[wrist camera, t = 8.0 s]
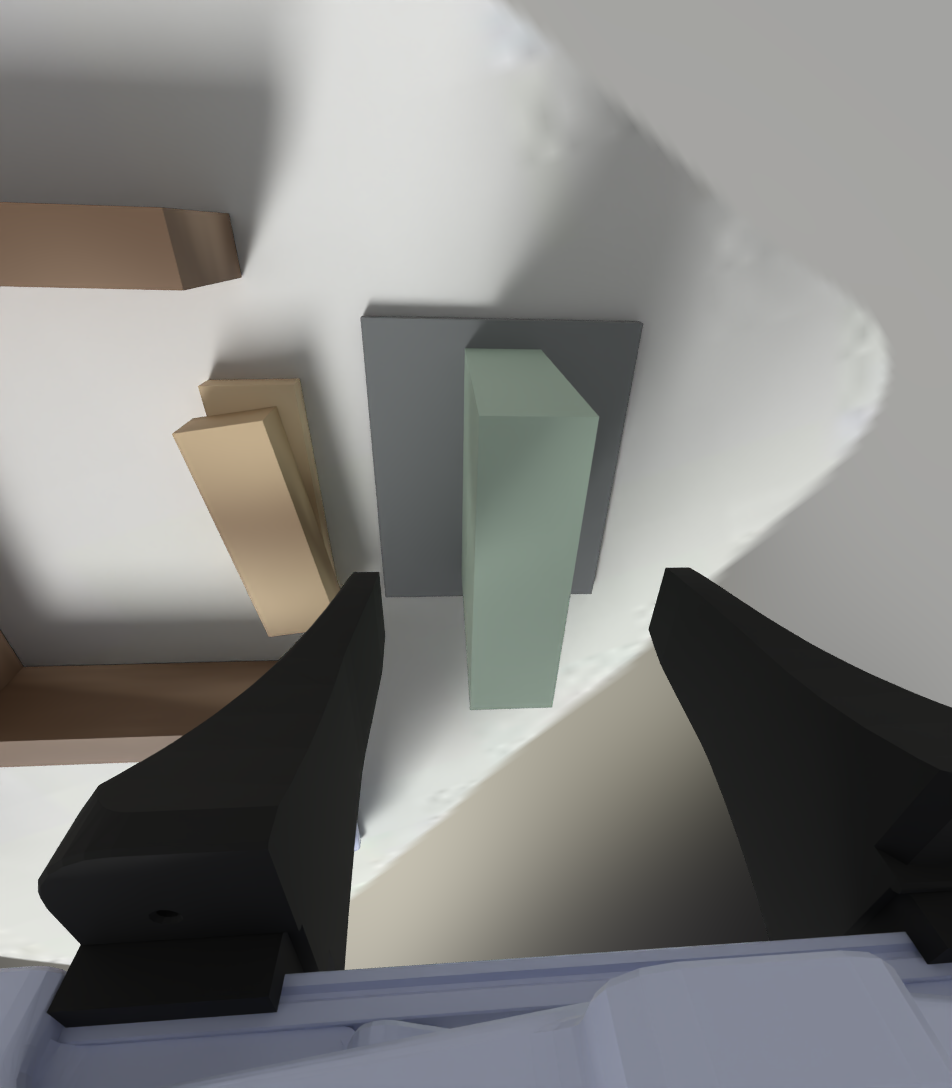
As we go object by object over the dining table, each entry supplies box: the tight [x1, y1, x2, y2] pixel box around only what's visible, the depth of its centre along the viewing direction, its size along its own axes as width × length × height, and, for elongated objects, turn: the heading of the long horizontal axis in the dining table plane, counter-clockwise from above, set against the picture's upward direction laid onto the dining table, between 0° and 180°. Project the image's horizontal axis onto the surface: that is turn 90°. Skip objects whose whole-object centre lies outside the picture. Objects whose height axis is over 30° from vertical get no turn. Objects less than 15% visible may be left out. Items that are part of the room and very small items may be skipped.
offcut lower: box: [198, 379, 337, 579], centre depth 19 cm, size 10×3×2 cm, turn 0°
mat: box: [361, 316, 643, 597], centre depth 19 cm, size 11×9×1 cm
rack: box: [0, 202, 278, 767], centre depth 17 cm, size 19×15×5 cm
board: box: [462, 348, 599, 710], centre depth 15 cm, size 9×2×7 cm, turn 178°
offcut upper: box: [172, 406, 340, 637], centre depth 18 cm, size 8×3×2 cm, turn 7°
